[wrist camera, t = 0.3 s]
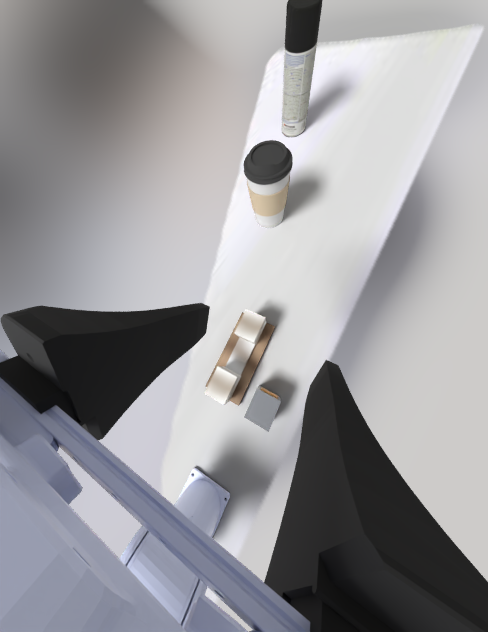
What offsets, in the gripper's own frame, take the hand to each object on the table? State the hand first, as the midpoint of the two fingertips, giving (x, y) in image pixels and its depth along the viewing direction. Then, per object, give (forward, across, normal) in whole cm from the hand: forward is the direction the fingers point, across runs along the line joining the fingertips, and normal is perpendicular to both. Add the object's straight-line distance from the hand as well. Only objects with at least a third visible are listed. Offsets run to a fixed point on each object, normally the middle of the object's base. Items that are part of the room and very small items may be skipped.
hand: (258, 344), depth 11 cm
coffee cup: (+42, +15, -5) cm, 45 cm away
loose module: (+16, -2, +25) cm, 30 cm away
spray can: (+62, +21, -27) cm, 71 cm away
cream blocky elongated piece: (+20, +6, +20) cm, 29 cm away
